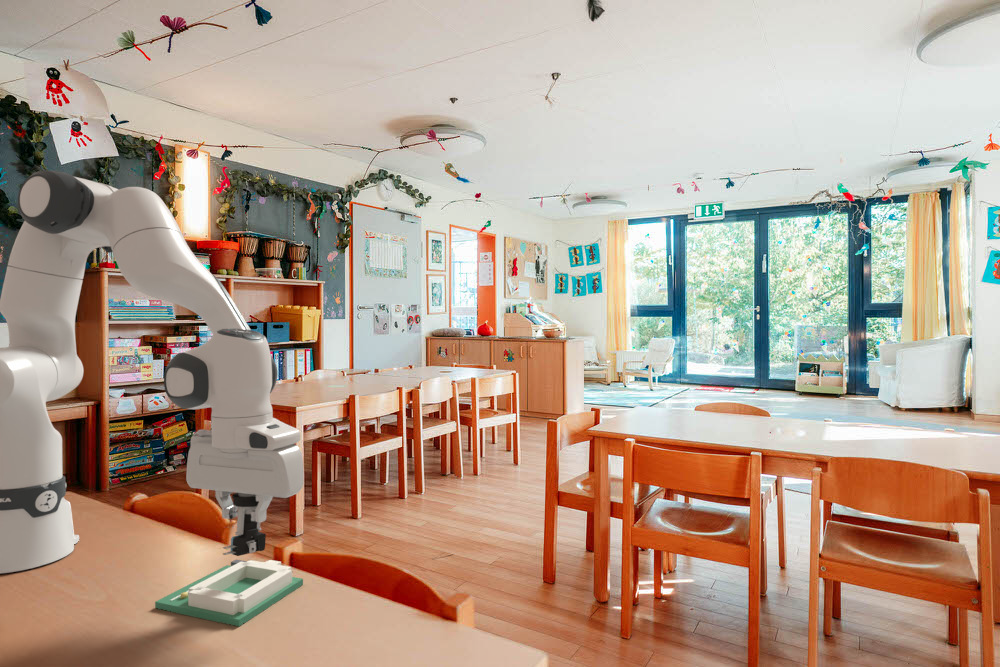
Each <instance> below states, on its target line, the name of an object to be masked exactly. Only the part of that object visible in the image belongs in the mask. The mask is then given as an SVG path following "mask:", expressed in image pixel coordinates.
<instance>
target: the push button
mask: <svg viewBox="0 0 1000 667" xmlns="http://www.w3.org/2000/svg"><path fill="white" fill-rule="evenodd" d="M231 499H232V501H233V505H235V506H237V507H238V510H237V512H238V515H237V518H236V519H237V522H236V531H235V532H234V533H235V534H234V535H235V536H231V538H230V545H227V546H223V547H222V549H224V550H228V549H230V551H227V552H223V553H222V555H223V556H227V555H233V556H236V557H240V556H244V555H249V554H254V553H256V552H262V551H264V550H266V540H267V539H266V538H267V535H266V533H264V532H261V531H262V527H261V523H257V522H252V521H251V511H253V510H256V508H257V506H258V503H259V501H256V495H254V494H245V493H235V492H234V493H232V496H231Z"/></svg>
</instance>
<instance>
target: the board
mask: <svg viewBox="0 0 1000 667" xmlns="http://www.w3.org/2000/svg"><path fill="white" fill-rule="evenodd" d="M246 561H247V560H246ZM303 585H304V579H303V578H301V577H295V576H293V570H292V566H287V565H282V561H278V560H274V559H273V560H272V559H269V560H266V561H265V562H264V561H257V560H254V559H253V560H251V559H250V560H248V561H247V562H239V563H237V564H235V565H233V566H231V565H228V564H227V565H225V566H222V567H221V568H219V569H216V570H214V571H212V572H211V573H209V574H206V575H204V576H203V577H201V578H199V579H197V580H195V581H193V582H191V583H190V584H187V585H185V586H183V587H182V588H180V589H177V590H175V591H174V592H171V593H170V594H168V595H165V596H164V597H162V598H160V599H158V600H155V602H154V608H155V609H156V608H158V609H157V610H161V609H163V610H162V611H165V610H167V611H166V612H170V611H171V612H170V613H175V612H176V613H175V614H180V615H184V616H190V617H192V618H199V619H203V620H207V621H211V622H217V623H220V624H225V623H226V624H225V625H229V624H231V625H230V626H234V625H235V626H234V627H241V626H243V625H244V624H245V623H247V622H248V620H249V621H250V620H252V619H253V618H255V617H257V615H260V614H261V613H263V612H264V611H265V610H267V609H268V608H270V607H272V606H273V605H274V604H276V603H278V602H279V601H280V600H282V599H283V597H284V598H285V597H287V596H288V595H290V594H291V593H293V592H294V591H295V590H297V589H299V588H300V587H302V586H303ZM289 593H290V594H289ZM286 595H287V596H286ZM272 604H273V605H272ZM263 610H264V611H263ZM254 616H255V617H254ZM251 618H252V619H251ZM221 622H222V623H221ZM243 623H244V624H243ZM240 625H241V626H240Z"/></svg>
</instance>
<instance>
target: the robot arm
mask: <svg viewBox="0 0 1000 667" xmlns="http://www.w3.org/2000/svg"><path fill="white" fill-rule="evenodd" d="M17 207H18V210H19V213H20V215H21V217H22V219H23V220H24V221H23V223H22V225H21V227H20V229H19V231H18V232H17V236H16V238H15V241H14V244H13V246H12V249H11V251H10V254H9V258H8V261H7V267H6V272H5V277H4V280H3V284H2V289H1V295H0V314H1V315H2V316H3V318H4V319H5V322H6V323H7V330H8V339H9V340H8V341H9V343H8V347H5V346H4V347H0V574H7V573H14V572H21V571H25V570H29V569H34V568H38V567H42V566H44V565H48V564H51V563H53V562H56V561H58V560H61V559H63V558H65V557H67V556H69V555H70V554H72V552H74V550H75V545H76V544H77V543H79V542H80V540H79V539H80V535H79V534H75V531H74V529H75V528H74V523H73V513H72V506H71V502H70V501H68V499H65V496H66V494H67V482H66V476H65V475H63V436H62V435H61V433H60V431H58V430H57V429H56V428H55V427H54V424H53V423H52V421H51V418H50V416H49V412H48V409H47V404H46V403H47V402H51V401H55V400H59V399H61V398H62V397H64V396H66V395H67V394H69V393H70V392H72V391H74V389H76V388H77V387H79V385H80V384H81V382H82V380H83V377H84V371H85V370H84V365H83V362H82V360H81V358H79V357H80V356H78V354H77V342H76V316H77V310H78V305H79V300H80V295H81V290H82V285H83V281H84V280H83V279H84V276H85V271H86V265H87V264H86V263H87V259H88V257H89V255H90V253H92V252H93V251H94V250H96V249H97V248H102V249H103V250H104V251H105V252H106V253H112V254H113V256H114V259H115V262H116V264H117V267H118V270H119V272H120V273H121V275H122V276H123V277H124V279H125V280H126V282H128V284H129V285H130V286H131V287H132V288H133V289H135V290H136V291H138V292H140V293H142V294H144V295H146V296H149V297H151V298H155V299H158V300H162V301H166V302H168V303H172V304H175V305H177V306H180V307H183V308H184V309H188V311H189V310H190V311H191V312H193V313H194V314H195V315H197V316H199V317H200V318H201V319H202V320H203V321H204V323H205V324H206V326H207V327H208V329H209V331H210V332H211V334H212V336H211V338H210V339H209V340H208V341H206V342H204V343H203V344H201V345H199V346H196V347H194V348H191V349H188V350H187V351H183V352H179V353H177V354H175V356H173V357H172V358H171V359H170V361H169V362H168V363H167V366H166V367H165V370H164V373H163V374H164V376H163V387H164V391H165V393H166V395H167V397H168V399H169V400H170V401H171V402H172V403H173V404H175V405H176V406H177V407H179V408H180V409H187V410H200V409H207V408H211V415H210V418H211V419H210V422H211V423H210V424H211V429H210V430H208V429H203V428H202V429H198V430H196V432H195V433H194V434H193V435H192V436H190V437H191V438H190V447H189V449H188V454H187V462H186V477H185V478H186V482H187V485H188V486H189V487H190V488H191V489H199V490H200V489H201V490H210V491H215V498H216V501H217V502H218V505H219V506H220V508H221V516H222V517H221V518H222V519H226V520H227V519H228V520H232V519H234V518H238V507H237V506H235V505H233V498H232V496H231V494H232V495H233V493H234V494H235V493H245V494H254V495H256V501H259V503H258V506H257V508H256V510H253V511H251V521H252V522H257V523H260V524H261V523H263V522H265V521H266V520H267V509H268V507H269V506H270V504H271V502H272V500H273V498H282V499H287V498H291V497H292V496H294V495H296V494H298V493H300V491H301V490H302V489H303V487H304V483H305V482H304V481H305V478H304V477H305V473H304V472H305V471H304V459H303V458H304V457H303V452H302V451H301V449H300V446H298V445H297V443H299V442H300V441H301V431H300V430H299V429H298V428H296V427H294V426H291V425H290V424H287V423H285V422H283V421H280V420H279V419H278V418H276V417H274V415H273V414H274V412H273V406H272V402H271V398H270V396H271V394H272V392H273V390H274V388H275V387H276V383H277V381H278V367H277V364H276V362H275V360H274V357H273V356H272V355H271V350H270V346H269V342H268V339H267V337H266V336H265V335H264V334H262V333H260V332H259V331H255V330H252V329H251V328H250V326H249V324H248V323H247V322H246V320H245V318H244V316H243V315H242V313H241V312H240V310H239V307H237V305H236V303H235V301H234V300H233V298H232V297H231V295H230V293H229V292H228V291H227V289H226V287H225V286H224V285H223V283H222V282H221V280H220V279H219V278H217V276H216V275H214V274H213V273H212V272H210V271H209V269H207V268H206V267H205V266H204V265H203V264H202V262H201V261H200V260H199V259H198V258H197V257H196V255H195V253H194V252H193V251H192V249H191V248H190V247H189V245H188V243H187V241H186V240H185V237H184V235H183V232H182V230H181V229H180V226H179V224H178V223H177V221H176V219H175V216H174V215H173V213H172V212H171V211H170V209H169V207H168V206H167V204H165V202H164V201H163V199H162V198H161V197H160V196H159V195H158V194H157V193H156V192H154V191H152V190H151V189H148V188H145V187H141V186H127V187H123V188H120V189H118V188H117V187H113V186H111V185H109V184H105V183H103V182H97V181H94V180H89V179H86V178H81V177H77V176H73V175H72V174H70V173H67V172H64V171H63V172H62V171H57V170H46V169H43V170H38V171H36V172H33V173H32V174H30V176H28V177H27V178H26V179H25V180H24V181H23V183H22V184H21V185H20V189H19V191H18V195H17ZM78 541H79V542H78ZM74 544H75V545H74Z"/></svg>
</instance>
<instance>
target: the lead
mask: <svg viewBox="0 0 1000 667" xmlns="http://www.w3.org/2000/svg"><path fill="white" fill-rule="evenodd" d="M239 562H247V560H246V561H245V560H242V559H234V560H232V561H230V566H233V565H235V564H237V563H239Z"/></svg>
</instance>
